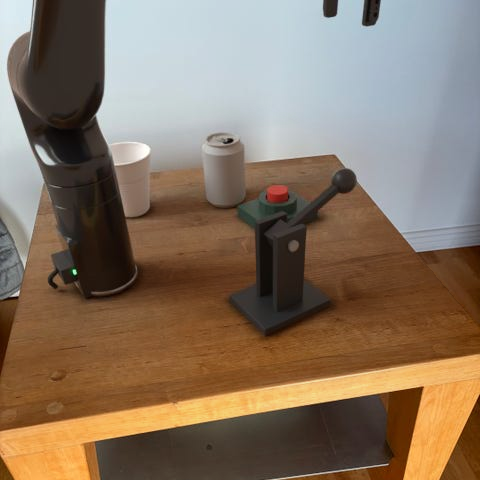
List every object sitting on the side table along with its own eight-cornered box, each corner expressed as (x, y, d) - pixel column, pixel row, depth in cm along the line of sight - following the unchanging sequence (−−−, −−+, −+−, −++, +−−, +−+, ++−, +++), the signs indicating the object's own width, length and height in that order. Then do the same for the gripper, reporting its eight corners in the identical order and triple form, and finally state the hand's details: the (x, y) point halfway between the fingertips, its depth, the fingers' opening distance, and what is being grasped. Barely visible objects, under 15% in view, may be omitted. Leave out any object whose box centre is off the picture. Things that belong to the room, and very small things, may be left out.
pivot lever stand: (291, 275, 76) (294, 197, 67) (330, 306, 70) (338, 225, 61) (229, 301, 71) (223, 222, 63) (264, 336, 65) (264, 254, 57)
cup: (161, 220, 90) (151, 161, 83) (105, 226, 89) (90, 167, 82) (159, 195, 97) (150, 139, 90) (107, 200, 96) (94, 144, 89)
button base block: (266, 237, 84) (266, 216, 81) (237, 216, 90) (236, 195, 87) (317, 218, 88) (319, 197, 85) (287, 199, 94) (287, 179, 91)
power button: (275, 206, 85) (275, 196, 84) (263, 198, 87) (263, 188, 86) (292, 200, 86) (292, 190, 85) (279, 192, 88) (280, 183, 87)
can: (241, 211, 91) (239, 146, 83) (202, 208, 92) (195, 144, 85) (249, 192, 97) (247, 130, 89) (211, 190, 98) (206, 128, 90)
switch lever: (347, 177, 66) (341, 159, 64) (364, 186, 64) (359, 167, 62) (269, 245, 65) (260, 229, 63) (283, 257, 63) (275, 240, 61)
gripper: (304, -121, 67) (299, 18, 78) (380, -126, 58) (363, 32, 69) (347, -123, 70) (336, 11, 81) (426, -128, 61) (402, 24, 71)
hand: (348, 21), depth 75 cm, fingers open, 8 cm apart
